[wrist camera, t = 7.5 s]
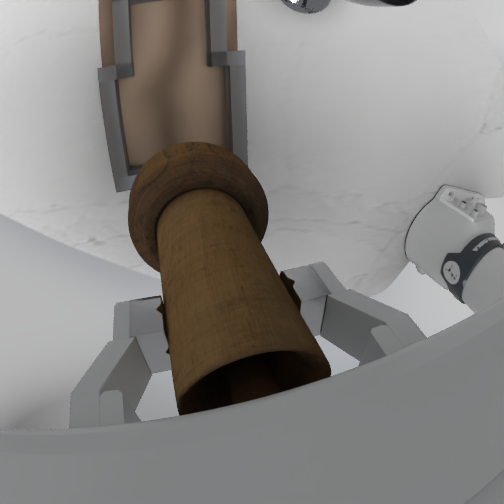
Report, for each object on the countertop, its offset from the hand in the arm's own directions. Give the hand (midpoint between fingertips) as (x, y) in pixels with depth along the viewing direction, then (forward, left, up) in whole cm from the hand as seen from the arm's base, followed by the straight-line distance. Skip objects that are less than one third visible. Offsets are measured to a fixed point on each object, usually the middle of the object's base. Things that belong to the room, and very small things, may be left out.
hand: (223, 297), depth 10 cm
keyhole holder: (0, -5, -27) cm, 28 cm away
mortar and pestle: (0, 0, -7) cm, 7 cm away
